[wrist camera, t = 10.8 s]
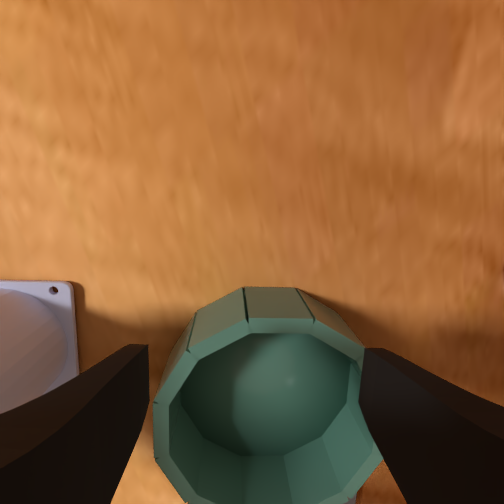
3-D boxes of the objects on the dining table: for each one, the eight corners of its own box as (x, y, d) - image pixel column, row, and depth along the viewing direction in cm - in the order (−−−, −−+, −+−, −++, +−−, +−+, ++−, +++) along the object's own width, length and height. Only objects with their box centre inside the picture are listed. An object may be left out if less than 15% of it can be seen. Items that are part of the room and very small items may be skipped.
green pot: (170, 457, 23) (155, 530, 19) (169, 285, 21) (150, 316, 16) (346, 455, 24) (376, 523, 19) (365, 289, 22) (405, 319, 17)
